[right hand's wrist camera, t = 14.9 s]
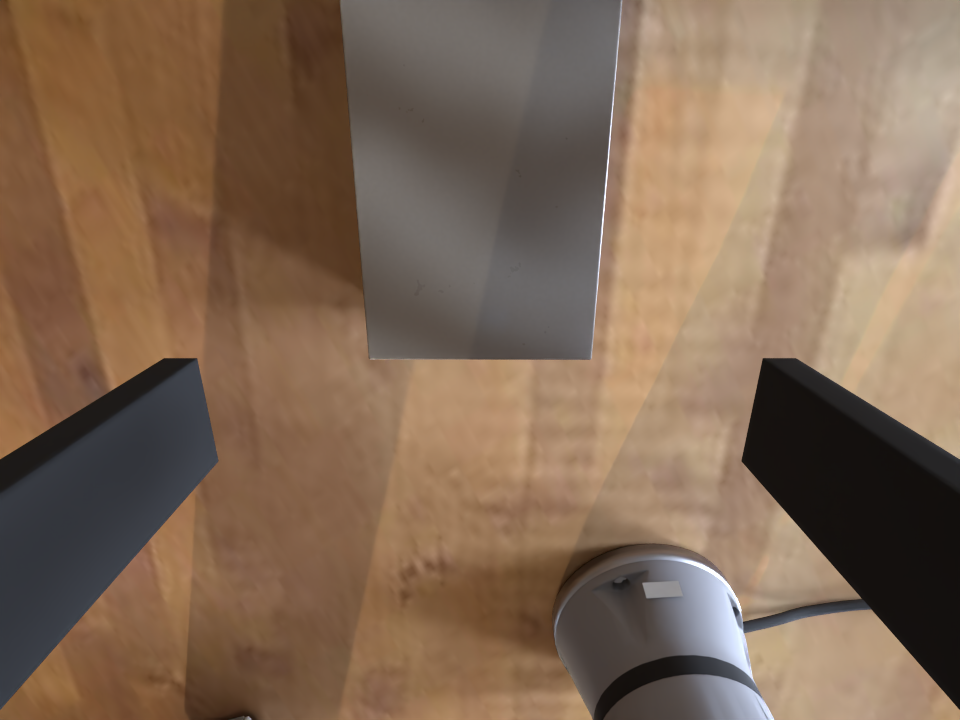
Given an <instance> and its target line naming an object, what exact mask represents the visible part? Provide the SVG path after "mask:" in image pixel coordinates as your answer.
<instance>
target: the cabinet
mask: <svg viewBox="0 0 960 720" xmlns="http://www.w3.org/2000/svg"><path fill="white" fill-rule="evenodd" d="M621 8H622V0H340V12H341V24H342V36H343V49H344V61H345V73H346V85H347V97H348V110H349V122H350V134H351V146H352V158H353V171H354V183H355V195H356V207H357V219H358V231H359V244H360V256H361V268H362V280H363V292H364V305H365V317H366V329H367V341H368V353H369V359H521V360H590V359H591V358H592V347H593V335H594V324H595V312H596V300H597V289H598V277H599V265H600V254H601V242H602V230H603V219H604V207H605V195H606V183H607V172H608V160H609V148H610V137H611V125H612V113H613V102H614V90H615V78H616V67H617V55H618V43H619V32H620V20H621Z"/></svg>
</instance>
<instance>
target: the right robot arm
mask: <svg viewBox="0 0 960 720" xmlns="http://www.w3.org/2000/svg"><path fill="white" fill-rule="evenodd" d="M217 462H218V456H217V452H216V447H215V442H214V437H213V432H212V428H211V423H210V418H209V413H208V408H207V404H206V399H205V394H204V389H203V384H202V380H201V375H200V370H199V365H198V360H197V358H164V359H162V360H161V361H159V362H157V363H156V364H154V365H153V366H151V367H149V368H148V369H146V370H144V371H143V372H141V373H140V374H138V375H136V376H135V377H133V378H131V379H130V380H128V381H127V382H125V383H123V384H122V385H120V386H119V387H117V388H115V389H114V390H112V391H110V392H109V393H107V394H106V395H104V396H102V397H101V398H99V399H97V400H96V401H94V402H93V403H91V404H89V405H88V406H86V407H85V408H83V409H81V410H80V411H78V412H76V413H75V414H73V415H72V416H70V417H68V418H67V419H65V420H63V421H62V422H60V423H59V424H57V425H55V426H54V427H52V428H50V429H49V430H47V431H46V432H44V433H42V434H41V435H39V436H38V437H36V438H34V439H33V440H31V441H29V442H28V443H26V444H25V445H23V446H21V447H20V448H18V449H16V450H15V451H13V452H12V453H10V454H8V455H7V456H5V457H3V458H2V459H0V709H1V708H2V707H3V706H4V705H5V704H6V703H7V701H8V700H9V699H10V698H11V697H12V696H13V695H14V693H15V692H16V691H17V690H18V689H19V688H20V687H21V686H22V684H23V683H24V682H25V681H26V680H27V679H28V678H29V676H30V675H31V674H32V673H33V672H34V671H35V670H36V668H37V667H38V666H39V665H40V664H41V663H42V662H43V660H44V659H45V658H46V657H47V656H48V655H49V654H50V653H51V651H52V650H53V649H54V648H55V647H56V646H57V645H58V643H59V642H60V641H61V640H62V639H63V638H64V637H65V635H66V634H67V633H68V632H69V631H70V630H71V629H72V627H73V626H74V625H75V624H76V623H77V622H78V621H79V619H80V618H81V617H82V616H83V615H84V614H85V613H86V612H87V610H88V609H89V608H90V607H91V606H92V605H93V604H94V602H95V601H96V600H97V599H98V598H99V597H100V596H101V594H102V593H103V592H104V591H105V590H106V589H107V588H108V586H109V585H110V584H111V583H112V582H113V581H114V580H115V578H116V577H117V576H118V575H119V574H120V573H121V572H122V571H123V569H124V568H125V567H126V566H127V565H128V564H129V563H130V561H131V560H132V559H133V558H134V557H135V556H136V555H137V553H138V552H139V551H140V550H141V549H142V548H143V547H144V545H145V544H146V543H147V542H148V541H149V540H150V539H151V537H152V536H153V535H154V534H155V533H156V532H157V531H158V530H159V528H160V527H161V526H162V525H163V524H164V523H165V522H166V520H167V519H168V518H169V517H170V516H171V515H172V514H173V512H174V511H175V510H176V509H177V508H178V507H179V506H180V504H181V503H182V502H183V501H184V500H185V499H186V498H187V496H188V495H189V494H190V493H191V492H192V491H193V490H194V489H195V487H196V486H197V485H198V484H199V483H200V482H201V481H202V479H203V478H204V477H205V476H206V475H207V474H208V473H209V471H210V470H211V469H212V468H213V467H214V466H215V465H216V463H217ZM742 462H743V463H744V465H745V466H746V467H747V468H748V469H749V470H750V471H751V473H752V474H753V475H754V476H755V477H756V478H757V479H758V481H759V482H760V483H761V484H762V485H763V486H764V487H765V489H766V490H767V491H768V492H769V493H770V494H771V495H772V496H773V498H774V499H775V500H776V501H777V502H778V503H779V504H780V506H781V507H782V508H783V509H784V510H785V511H786V512H787V514H788V515H789V516H790V517H791V518H792V519H793V520H794V522H795V523H796V524H797V525H798V526H799V527H800V528H801V530H802V531H803V532H804V533H805V534H806V535H807V536H808V537H809V539H810V540H811V541H812V542H813V543H814V544H815V545H816V547H817V548H818V549H819V550H820V551H821V552H822V553H823V555H824V556H825V557H826V558H827V559H828V560H829V561H830V563H831V564H832V565H833V566H834V567H835V568H836V569H837V571H838V572H839V573H840V574H841V575H842V576H843V577H844V578H845V580H846V581H847V582H848V583H849V584H850V585H851V586H852V588H853V589H854V590H855V591H856V592H857V593H858V594H859V596H860V597H861V598H862V599H859V600H848V601H839V602H831V603H824V604H817V605H811V606H805V607H800V608H796V609H792V610H789V611H785V612H782V613H779V614H775V615H771V616H767V617H763V618H758V619H754V620H749V621H745V622H743V621H742V615H741V610H740V606H739V603H738V600H737V598H736V596H735V594H734V592H733V591H732V589H731V587H730V586H729V584H728V582H727V580H726V579H725V577H724V576H723V574H722V573H721V572H720V570H719V569H718V568H717V567H716V566H715V565H714V564H713V563H711V562H710V561H709V560H707V559H706V558H704V557H703V556H701V555H699V554H697V553H695V552H693V551H690V550H687V549H684V548H681V547H677V546H672V545H665V544H640V545H633V546H627V547H623V548H619V549H616V550H613V551H610V552H607V553H605V554H603V555H600V556H598V557H596V558H594V559H593V560H591V561H589V562H588V563H586V564H585V565H583V566H582V567H581V568H579V569H578V570H577V571H576V572H575V573H574V574H573V575H572V576H571V577H570V578H569V579H568V580H567V581H566V583H565V584H564V585H563V587H562V588H561V590H560V592H559V593H558V596H557V598H556V600H555V604H554V607H553V613H552V625H553V632H554V638H555V644H556V649H557V652H558V655H559V657H560V659H561V661H562V663H563V665H564V666H565V668H566V669H567V671H568V672H569V674H570V675H571V677H572V679H573V681H574V683H575V685H576V687H577V689H578V691H579V693H580V695H581V697H582V699H583V701H584V703H585V705H586V706H587V708H588V710H589V712H590V714H591V716H592V718H593V720H774V718H773V716H772V715H771V713H770V711H769V709H768V707H767V705H766V704H765V702H764V700H763V698H762V696H761V694H760V692H759V690H758V688H757V686H756V684H755V682H754V680H753V678H752V672H751V667H750V661H749V655H748V649H747V644H746V640H745V636H744V633H747V632H752V631H756V630H760V629H765V628H769V627H773V626H777V625H781V624H784V623H788V622H791V621H794V620H798V619H801V618H806V617H811V616H817V615H823V614H830V613H837V612H845V611H855V610H867V609H872V610H873V612H874V613H875V614H876V615H877V616H878V617H879V618H880V619H881V621H882V622H883V623H884V624H885V625H886V626H887V627H888V629H889V630H890V631H891V632H892V633H893V634H894V635H895V637H896V638H897V639H898V640H899V641H900V642H901V643H902V645H903V646H904V647H905V648H906V649H907V650H908V651H909V653H910V654H911V655H912V656H913V657H914V658H915V659H916V660H917V662H918V663H919V664H920V665H921V666H922V667H923V668H924V670H925V671H926V672H927V673H928V674H929V675H930V676H931V678H932V679H933V680H934V681H935V682H936V683H937V684H938V686H939V687H940V688H941V689H942V690H943V691H944V692H945V694H946V695H947V696H948V697H949V698H950V699H951V700H952V701H953V703H954V704H955V705H956V706H957V707H958V708H959V709H960V459H958V458H957V457H955V456H953V455H952V454H950V453H948V452H947V451H945V450H944V449H942V448H940V447H939V446H937V445H935V444H934V443H932V442H931V441H929V440H927V439H926V438H924V437H922V436H921V435H919V434H918V433H916V432H914V431H913V430H911V429H910V428H908V427H906V426H905V425H903V424H901V423H900V422H898V421H897V420H895V419H893V418H892V417H890V416H888V415H887V414H885V413H884V412H882V411H880V410H879V409H877V408H875V407H874V406H872V405H871V404H869V403H867V402H866V401H864V400H863V399H861V398H859V397H858V396H856V395H854V394H853V393H851V392H850V391H848V390H846V389H845V388H843V387H841V386H840V385H838V384H837V383H835V382H833V381H832V380H830V379H829V378H827V377H825V376H824V375H822V374H820V373H819V372H817V371H816V370H814V369H812V368H811V367H809V366H807V365H806V364H804V363H803V362H801V361H799V360H798V359H796V358H763V360H762V365H761V370H760V375H759V380H758V384H757V389H756V394H755V399H754V404H753V408H752V413H751V418H750V423H749V428H748V432H747V437H746V442H745V447H744V452H743V456H742Z"/></svg>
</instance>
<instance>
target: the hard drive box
mask: <svg viewBox="0 0 960 720" xmlns="http://www.w3.org/2000/svg"><path fill="white" fill-rule="evenodd" d="M229 720H252V719H251V718H250V717H249V716H247V717H245V716H241V717H237V718H233V719H229Z"/></svg>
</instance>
